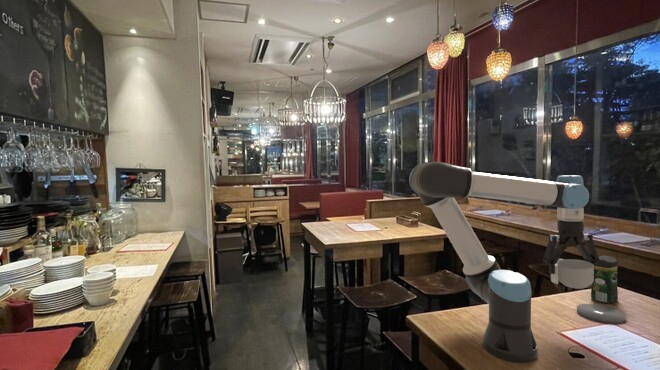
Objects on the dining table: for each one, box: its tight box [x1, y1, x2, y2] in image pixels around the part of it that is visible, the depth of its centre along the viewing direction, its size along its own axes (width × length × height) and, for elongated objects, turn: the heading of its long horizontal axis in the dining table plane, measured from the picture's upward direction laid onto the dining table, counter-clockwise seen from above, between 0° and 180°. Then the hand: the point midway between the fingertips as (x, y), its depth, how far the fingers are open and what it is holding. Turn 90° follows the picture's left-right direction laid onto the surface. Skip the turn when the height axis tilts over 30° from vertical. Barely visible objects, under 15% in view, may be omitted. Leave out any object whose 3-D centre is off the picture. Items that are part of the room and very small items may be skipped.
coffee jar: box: [590, 255, 619, 304], centre depth 143 cm, size 10×8×19 cm
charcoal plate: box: [576, 303, 627, 325], centre depth 129 cm, size 15×15×2 cm
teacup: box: [556, 258, 594, 290], centre depth 119 cm, size 14×11×8 cm
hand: (571, 282), depth 119 cm, fingers closed on teacup, 11 cm apart
